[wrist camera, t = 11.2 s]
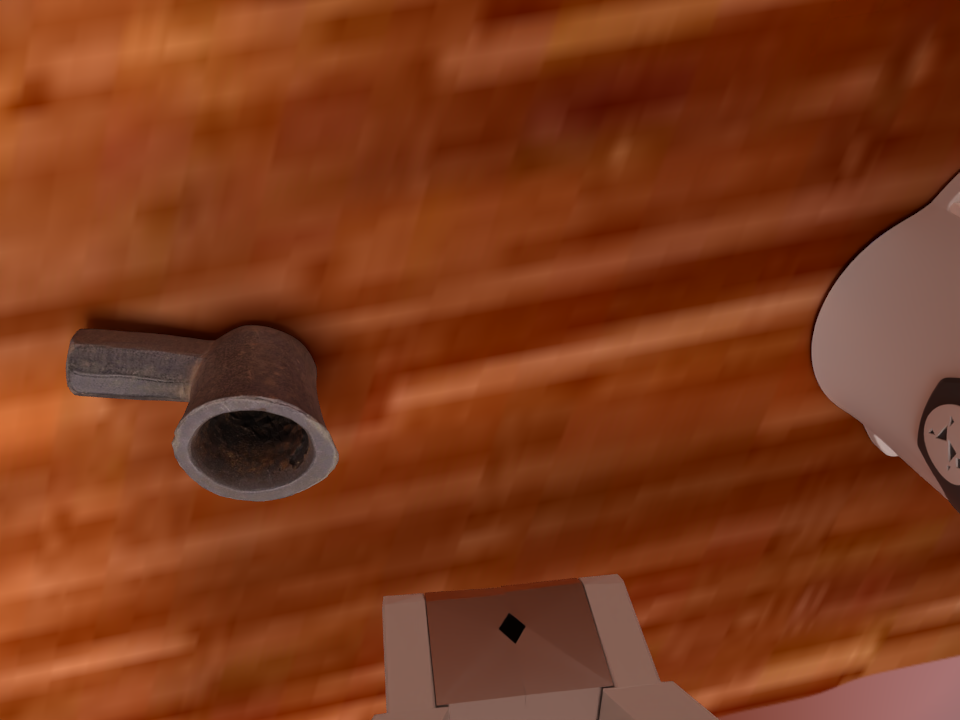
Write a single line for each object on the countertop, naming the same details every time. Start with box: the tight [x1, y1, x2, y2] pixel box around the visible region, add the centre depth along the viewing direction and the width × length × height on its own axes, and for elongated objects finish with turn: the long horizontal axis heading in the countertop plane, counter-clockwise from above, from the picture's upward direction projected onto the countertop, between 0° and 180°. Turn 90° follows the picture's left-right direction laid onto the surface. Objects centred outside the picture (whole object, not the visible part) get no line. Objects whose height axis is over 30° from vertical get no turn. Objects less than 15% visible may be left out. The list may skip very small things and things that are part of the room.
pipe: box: [66, 325, 339, 501], centre depth 40 cm, size 6×13×8 cm, turn 78°
